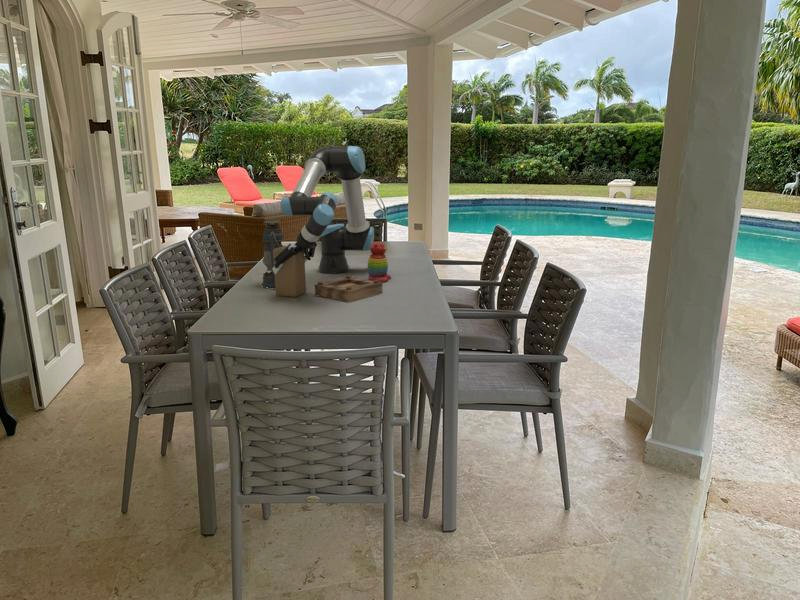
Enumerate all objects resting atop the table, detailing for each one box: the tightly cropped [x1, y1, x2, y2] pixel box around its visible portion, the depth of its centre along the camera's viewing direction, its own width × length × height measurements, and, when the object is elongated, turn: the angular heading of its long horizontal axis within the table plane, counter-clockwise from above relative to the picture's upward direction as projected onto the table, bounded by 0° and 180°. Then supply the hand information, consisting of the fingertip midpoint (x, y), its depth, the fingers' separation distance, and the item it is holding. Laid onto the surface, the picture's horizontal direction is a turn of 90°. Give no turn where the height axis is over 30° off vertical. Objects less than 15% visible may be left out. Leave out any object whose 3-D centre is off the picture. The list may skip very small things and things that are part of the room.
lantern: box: [261, 218, 285, 289], centre depth 268 cm, size 19×14×30 cm
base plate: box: [314, 274, 383, 303], centre depth 253 cm, size 20×20×6 cm
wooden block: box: [273, 245, 307, 298], centre depth 252 cm, size 10×10×20 cm
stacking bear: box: [367, 241, 392, 283], centre depth 279 cm, size 11×10×18 cm
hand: (286, 269), depth 253 cm, fingers closed on wooden block, 12 cm apart
